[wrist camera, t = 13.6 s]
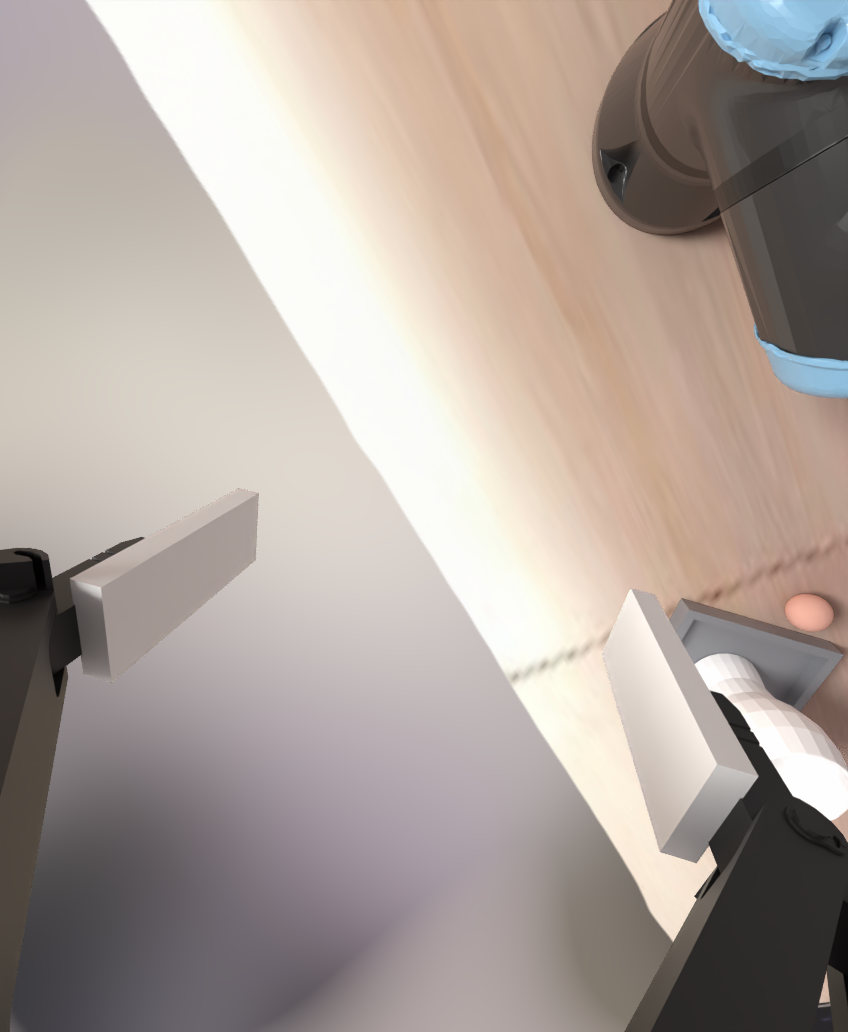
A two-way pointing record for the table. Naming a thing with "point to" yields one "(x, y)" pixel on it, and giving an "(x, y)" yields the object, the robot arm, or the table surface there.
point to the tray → (758, 649)
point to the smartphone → (823, 1018)
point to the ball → (809, 612)
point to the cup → (783, 734)
